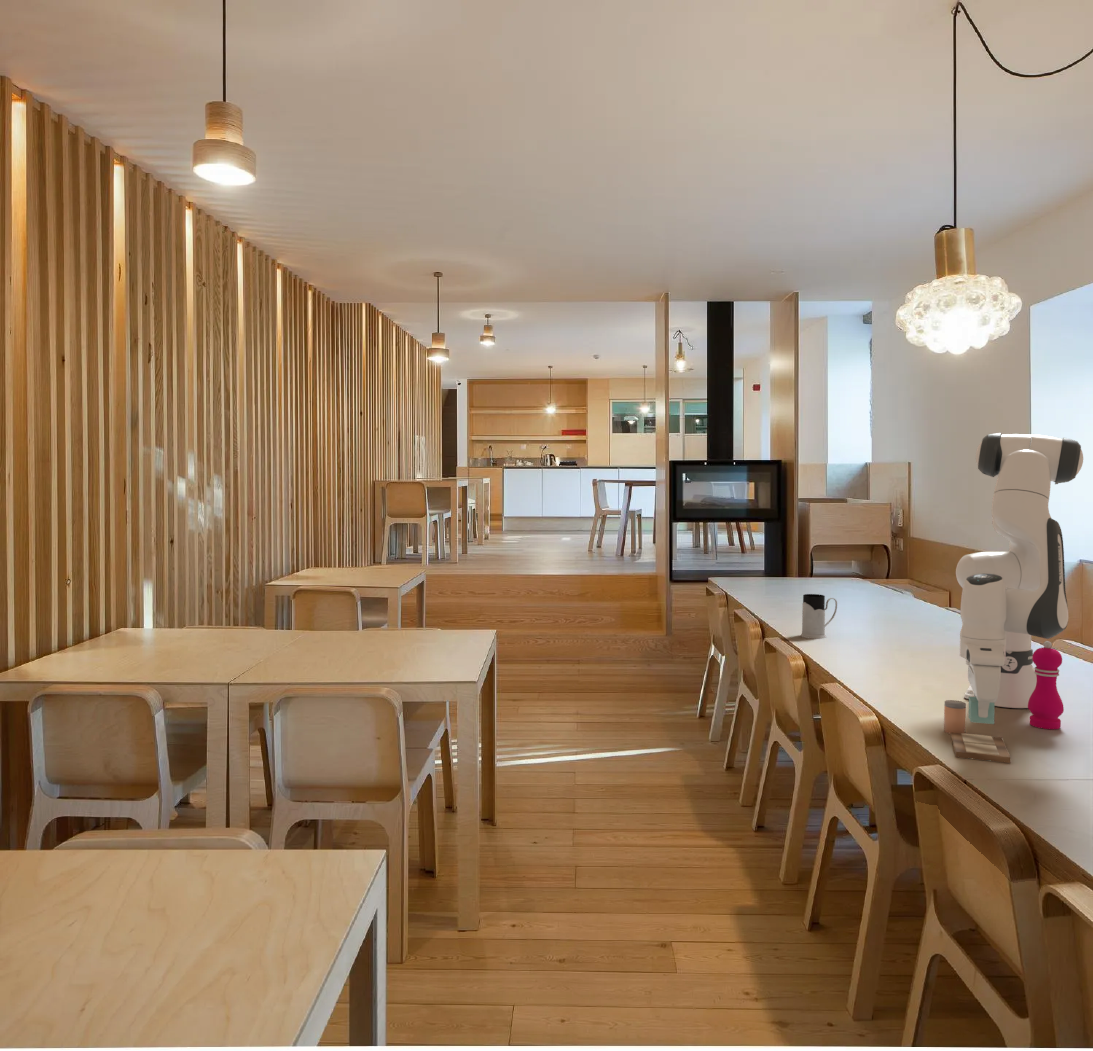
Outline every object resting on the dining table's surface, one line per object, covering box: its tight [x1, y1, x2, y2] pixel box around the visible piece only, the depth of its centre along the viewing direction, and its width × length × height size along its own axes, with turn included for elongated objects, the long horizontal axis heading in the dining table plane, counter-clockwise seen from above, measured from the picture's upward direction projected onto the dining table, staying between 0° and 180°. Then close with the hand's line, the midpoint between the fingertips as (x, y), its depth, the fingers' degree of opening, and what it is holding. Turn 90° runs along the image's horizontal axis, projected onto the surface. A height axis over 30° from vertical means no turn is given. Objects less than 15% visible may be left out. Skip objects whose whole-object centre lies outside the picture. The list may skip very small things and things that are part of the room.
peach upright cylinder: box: [943, 699, 967, 735], centre depth 192 cm, size 4×4×7 cm
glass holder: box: [800, 593, 838, 640], centre depth 306 cm, size 9×14×15 cm, turn 107°
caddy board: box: [950, 732, 1012, 764], centre depth 179 cm, size 14×10×1 cm
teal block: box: [967, 697, 995, 725], centre depth 182 cm, size 4×4×4 cm
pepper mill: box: [1027, 640, 1065, 730], centre depth 196 cm, size 7×7×20 cm
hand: (981, 713), depth 182 cm, fingers closed on teal block, 4 cm apart
